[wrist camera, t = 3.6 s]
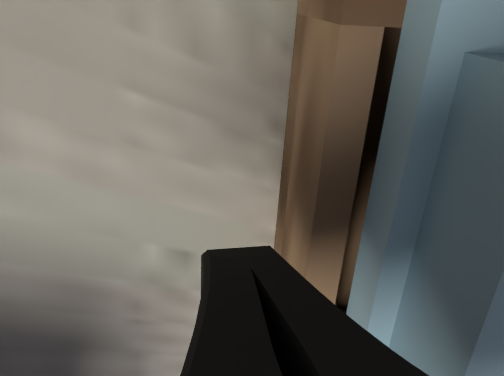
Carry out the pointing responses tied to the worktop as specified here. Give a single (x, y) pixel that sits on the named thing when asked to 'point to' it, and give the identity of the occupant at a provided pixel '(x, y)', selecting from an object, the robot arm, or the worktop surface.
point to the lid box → (334, 135)
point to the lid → (439, 196)
